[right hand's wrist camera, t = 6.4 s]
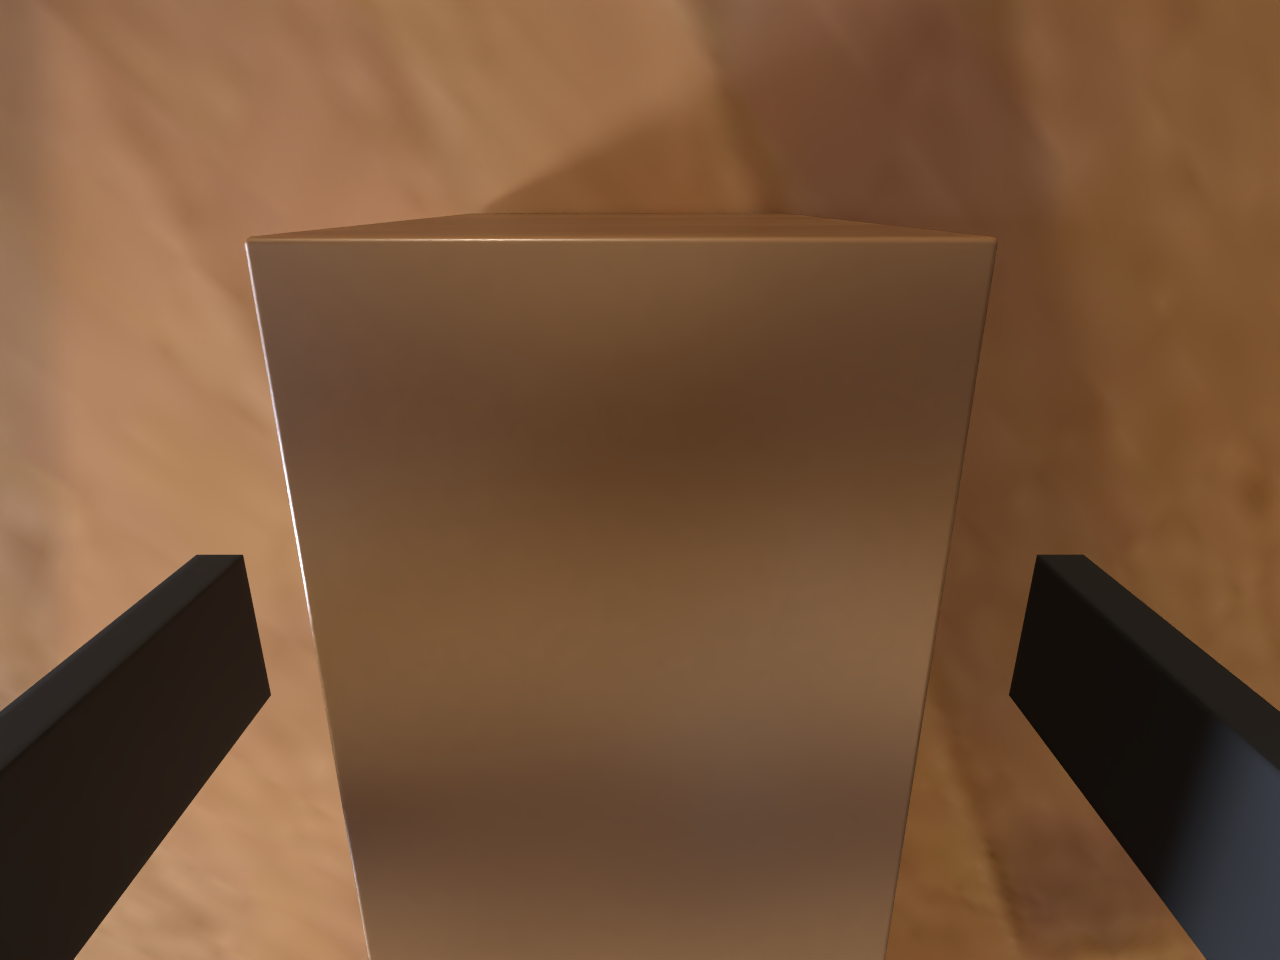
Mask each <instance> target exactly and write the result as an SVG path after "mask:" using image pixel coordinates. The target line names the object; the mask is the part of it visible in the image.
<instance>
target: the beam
mask: <svg viewBox="0 0 1280 960" xmlns="http://www.w3.org/2000/svg"><path fill="white" fill-rule="evenodd" d="M996 249H997V240H996V239H995V238H993V237H991V236H982V235H973V234H964V233H955V232H946V231H938V230H929V229H920V228H911V227H902V226H893V225H884V224H875V223H866V222H857V221H848V220H839V219H830V218H821V217H813V216H804V215H795V214H463V215H453V216H444V217H434V218H425V219H415V220H406V221H396V222H387V223H377V224H368V225H358V226H349V227H339V228H330V229H320V230H311V231H301V232H291V233H282V234H272V235H263V236H253V237H249V238H247V239H246V240H245V250H246V255H247V261H248V267H249V272H250V278H251V284H252V290H253V295H254V301H255V307H256V313H257V318H258V324H259V330H260V336H261V341H262V347H263V353H264V359H265V364H266V370H267V376H268V382H269V387H270V393H271V399H272V405H273V410H274V416H275V422H276V428H277V433H278V439H279V445H280V451H281V456H282V462H283V468H284V474H285V479H286V485H287V491H288V497H289V502H290V508H291V514H292V520H293V525H294V531H295V537H296V543H297V548H298V554H299V560H300V566H301V571H302V577H303V583H304V589H305V594H306V600H307V606H308V612H309V617H310V623H311V629H312V635H313V640H314V646H315V652H316V658H317V663H318V669H319V675H320V681H321V686H322V692H323V698H324V704H325V709H326V715H327V721H328V727H329V732H330V738H331V744H332V750H333V755H334V761H335V767H336V773H337V778H338V784H339V790H340V796H341V801H342V807H343V813H344V819H345V824H346V830H347V836H348V842H349V847H350V853H351V859H352V865H353V870H354V876H355V882H356V888H357V893H358V899H359V905H360V910H361V916H362V922H363V928H364V933H365V939H366V945H367V951H368V956H369V960H885V955H886V949H887V942H888V936H889V930H890V923H891V917H892V911H893V904H894V898H895V891H896V885H897V879H898V872H899V866H900V860H901V853H902V847H903V841H904V834H905V828H906V821H907V815H908V809H909V802H910V796H911V790H912V783H913V777H914V771H915V764H916V758H917V751H918V745H919V739H920V732H921V726H922V720H923V713H924V707H925V701H926V694H927V688H928V681H929V675H930V669H931V662H932V656H933V650H934V643H935V637H936V631H937V624H938V618H939V611H940V605H941V599H942V592H943V586H944V580H945V573H946V567H947V561H948V554H949V548H950V541H951V535H952V529H953V522H954V516H955V510H956V503H957V497H958V491H959V484H960V478H961V471H962V465H963V459H964V452H965V446H966V440H967V433H968V427H969V421H970V414H971V408H972V402H973V395H974V389H975V382H976V376H977V370H978V363H979V357H980V351H981V344H982V338H983V332H984V325H985V319H986V312H987V306H988V300H989V293H990V287H991V281H992V274H993V268H994V262H995V255H996Z"/></svg>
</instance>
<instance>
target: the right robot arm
mask: <svg viewBox="0 0 1280 960" xmlns="http://www.w3.org/2000/svg"><path fill="white" fill-rule="evenodd" d="M270 696H271V693H270V688H269V683H268V678H267V673H266V668H265V663H264V658H263V653H262V648H261V643H260V638H259V633H258V628H257V623H256V618H255V613H254V608H253V603H252V598H251V593H250V588H249V583H248V578H247V573H246V568H245V563H244V558H243V555H196V556H195V557H193V558H192V559H191V560H190V561H188V562H187V563H186V564H185V565H183V566H182V567H181V568H179V569H178V570H177V571H176V572H174V573H173V574H172V575H171V576H169V577H168V578H167V579H166V580H164V581H163V582H162V583H161V584H159V585H158V586H157V587H156V588H154V589H153V590H152V591H151V592H149V593H148V594H147V595H146V596H144V597H143V598H142V599H141V600H139V601H138V602H137V603H136V604H134V605H133V606H132V607H131V608H129V609H128V610H127V611H126V612H124V613H123V614H122V615H121V616H119V617H118V618H117V619H116V620H114V621H113V622H112V623H111V624H109V625H108V626H107V627H106V628H104V629H103V630H102V631H101V632H99V633H98V634H97V635H96V636H94V637H93V638H92V639H91V640H89V641H88V642H87V643H86V644H84V645H83V646H82V647H81V648H79V649H78V650H77V651H76V652H74V653H73V654H72V655H71V656H69V657H68V658H67V659H66V660H64V661H63V662H62V663H61V664H59V665H58V666H57V667H56V668H54V669H53V670H52V671H51V672H49V673H48V674H47V675H46V676H44V677H43V678H42V679H41V680H39V681H38V682H37V683H36V684H34V685H33V686H32V687H31V688H29V689H28V690H27V691H25V692H24V693H23V694H22V695H20V696H19V697H18V698H17V699H15V700H14V701H13V702H12V703H10V704H9V705H8V706H7V707H5V708H4V709H3V710H2V711H0V960H74V958H75V957H76V956H77V954H78V953H79V951H80V950H81V949H82V947H83V946H84V945H85V943H86V942H87V941H88V939H89V938H90V937H91V935H92V934H93V933H94V931H95V930H96V929H97V927H98V926H99V925H100V923H101V922H102V921H103V919H104V918H105V917H106V915H107V914H108V913H109V911H110V910H111V909H112V907H113V906H114V905H115V903H116V902H117V901H118V899H119V898H120V897H121V895H122V894H123V893H124V891H125V890H126V889H127V887H128V886H129V885H130V883H131V882H132V881H133V879H134V878H135V876H136V875H137V874H138V872H139V871H140V870H141V868H142V867H143V866H144V864H145V863H146V862H147V860H148V859H149V858H150V856H151V855H152V854H153V852H154V851H155V850H156V848H157V847H158V846H159V844H160V843H161V842H162V840H163V839H164V838H165V836H166V835H167V834H168V832H169V831H170V830H171V828H172V827H173V826H174V824H175V823H176V822H177V820H178V819H179V818H180V816H181V815H182V814H183V812H184V811H185V810H186V808H187V807H188V805H189V804H190V803H191V801H192V800H193V799H194V797H195V796H196V795H197V793H198V792H199V791H200V789H201V788H202V787H203V785H204V784H205V783H206V781H207V780H208V779H209V777H210V776H211V775H212V773H213V772H214V771H215V769H216V768H217V767H218V765H219V764H220V763H221V761H222V760H223V759H224V757H225V756H226V755H227V753H228V752H229V751H230V749H231V748H232V747H233V745H234V744H235V743H236V741H237V740H238V739H239V737H240V736H241V734H242V733H243V732H244V730H245V729H246V728H247V726H248V725H249V724H250V722H251V721H252V720H253V718H254V717H255V716H256V714H257V713H258V712H259V710H260V709H261V708H262V706H263V705H264V704H265V702H266V701H267V700H268V698H269V697H270ZM1009 696H1010V697H1011V698H1012V700H1013V701H1014V702H1015V704H1016V705H1017V706H1018V708H1019V709H1020V710H1021V712H1022V713H1023V714H1024V716H1025V717H1026V718H1027V720H1028V721H1029V722H1030V724H1031V725H1032V726H1033V728H1034V729H1035V730H1036V732H1037V733H1038V734H1039V736H1040V737H1041V739H1042V740H1043V741H1044V743H1045V744H1046V745H1047V747H1048V748H1049V749H1050V751H1051V752H1052V753H1053V755H1054V756H1055V757H1056V759H1057V760H1058V761H1059V763H1060V764H1061V765H1062V767H1063V768H1064V769H1065V771H1066V772H1067V773H1068V775H1069V776H1070V777H1071V779H1072V780H1073V781H1074V783H1075V784H1076V785H1077V787H1078V788H1079V789H1080V791H1081V792H1082V793H1083V795H1084V796H1085V797H1086V799H1087V800H1088V801H1089V803H1090V804H1091V805H1092V807H1093V808H1094V810H1095V811H1096V812H1097V814H1098V815H1099V816H1100V818H1101V819H1102V820H1103V822H1104V823H1105V824H1106V826H1107V827H1108V828H1109V830H1110V831H1111V832H1112V834H1113V835H1114V836H1115V838H1116V839H1117V840H1118V842H1119V843H1120V844H1121V846H1122V847H1123V848H1124V850H1125V851H1126V852H1127V854H1128V855H1129V856H1130V858H1131V859H1132V860H1133V862H1134V863H1135V864H1136V866H1137V867H1138V868H1139V870H1140V871H1141V872H1142V874H1143V875H1144V876H1145V878H1146V879H1147V881H1148V882H1149V883H1150V885H1151V886H1152V887H1153V889H1154V890H1155V891H1156V893H1157V894H1158V895H1159V897H1160V898H1161V899H1162V901H1163V902H1164V903H1165V905H1166V906H1167V907H1168V909H1169V910H1170V911H1171V913H1172V914H1173V915H1174V917H1175V918H1176V919H1177V921H1178V922H1179V923H1180V925H1181V926H1182V927H1183V929H1184V930H1185V931H1186V933H1187V934H1188V935H1189V937H1190V938H1191V939H1192V941H1193V942H1194V943H1195V945H1196V946H1197V947H1198V949H1199V950H1200V951H1201V953H1202V954H1203V956H1204V957H1205V958H1206V960H1280V711H1278V710H1277V709H1276V708H1275V707H1273V706H1272V705H1271V704H1270V703H1268V702H1267V701H1266V700H1265V699H1263V698H1262V697H1261V696H1260V695H1258V694H1257V693H1256V692H1255V691H1253V690H1252V689H1251V688H1249V687H1248V686H1247V685H1246V684H1244V683H1243V682H1242V681H1241V680H1239V679H1238V678H1237V677H1236V676H1234V675H1233V674H1232V673H1231V672H1229V671H1228V670H1227V669H1226V668H1224V667H1223V666H1222V665H1221V664H1219V663H1218V662H1217V661H1216V660H1214V659H1213V658H1212V657H1211V656H1209V655H1208V654H1207V653H1206V652H1204V651H1203V650H1202V649H1201V648H1199V647H1198V646H1197V645H1196V644H1194V643H1193V642H1192V641H1191V640H1189V639H1188V638H1187V637H1186V636H1184V635H1183V634H1182V633H1181V632H1179V631H1178V630H1177V629H1176V628H1174V627H1173V626H1172V625H1171V624H1169V623H1168V622H1167V621H1166V620H1164V619H1163V618H1162V617H1161V616H1159V615H1158V614H1157V613H1156V612H1154V611H1153V610H1152V609H1151V608H1149V607H1148V606H1147V605H1146V604H1144V603H1143V602H1142V601H1141V600H1139V599H1138V598H1137V597H1136V596H1134V595H1133V594H1132V593H1131V592H1129V591H1128V590H1127V589H1126V588H1124V587H1123V586H1122V585H1121V584H1119V583H1118V582H1117V581H1116V580H1114V579H1113V578H1112V577H1111V576H1109V575H1108V574H1107V573H1106V572H1104V571H1103V570H1102V569H1101V568H1099V567H1098V566H1097V565H1095V564H1094V563H1093V562H1092V561H1090V560H1089V559H1088V558H1087V557H1085V556H1084V555H1037V558H1036V563H1035V568H1034V573H1033V578H1032V583H1031V588H1030V593H1029V598H1028V603H1027V608H1026V613H1025V618H1024V623H1023V628H1022V633H1021V638H1020V643H1019V648H1018V653H1017V658H1016V663H1015V668H1014V673H1013V678H1012V683H1011V688H1010V693H1009Z"/></svg>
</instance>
